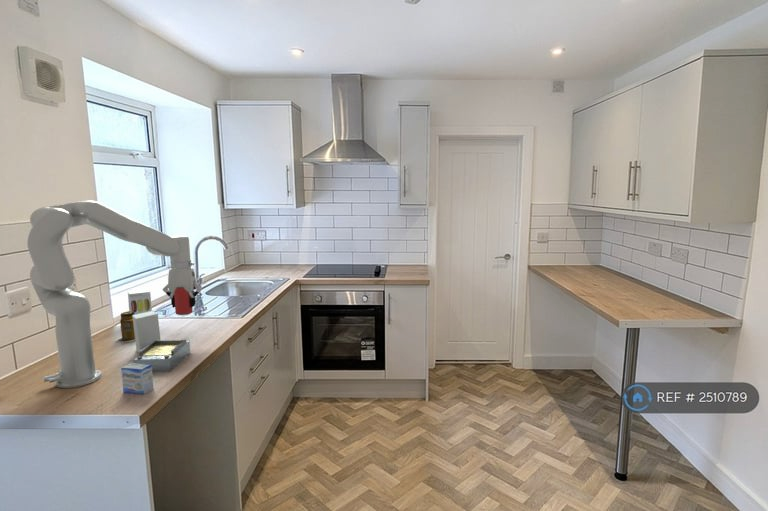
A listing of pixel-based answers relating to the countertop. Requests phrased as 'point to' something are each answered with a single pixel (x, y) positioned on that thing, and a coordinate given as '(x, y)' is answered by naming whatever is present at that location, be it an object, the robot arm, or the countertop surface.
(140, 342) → the skincare box
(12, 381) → the countertop surface
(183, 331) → the countertop surface
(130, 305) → the supplement box
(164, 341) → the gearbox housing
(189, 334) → the countertop surface
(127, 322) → the condiment
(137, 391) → the medicine box
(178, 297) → the beer can
